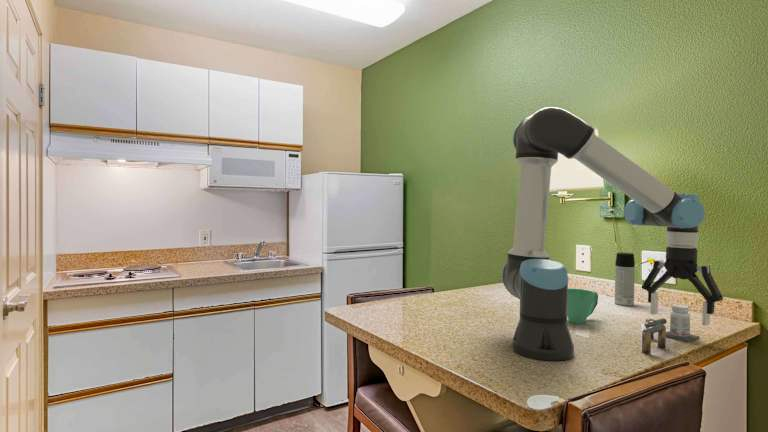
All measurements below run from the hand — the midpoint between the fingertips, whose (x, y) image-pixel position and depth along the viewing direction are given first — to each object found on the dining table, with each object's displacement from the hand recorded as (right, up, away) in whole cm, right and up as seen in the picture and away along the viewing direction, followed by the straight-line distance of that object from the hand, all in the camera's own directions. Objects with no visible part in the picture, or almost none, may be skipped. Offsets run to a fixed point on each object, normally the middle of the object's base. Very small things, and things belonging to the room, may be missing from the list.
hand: (678, 319), depth 126 cm
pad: (0, -5, 0) cm, 5 cm away
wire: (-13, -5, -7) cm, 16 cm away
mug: (-20, -5, +18) cm, 27 cm away
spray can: (+8, -5, +43) cm, 44 cm away
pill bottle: (0, -5, 0) cm, 5 cm away
